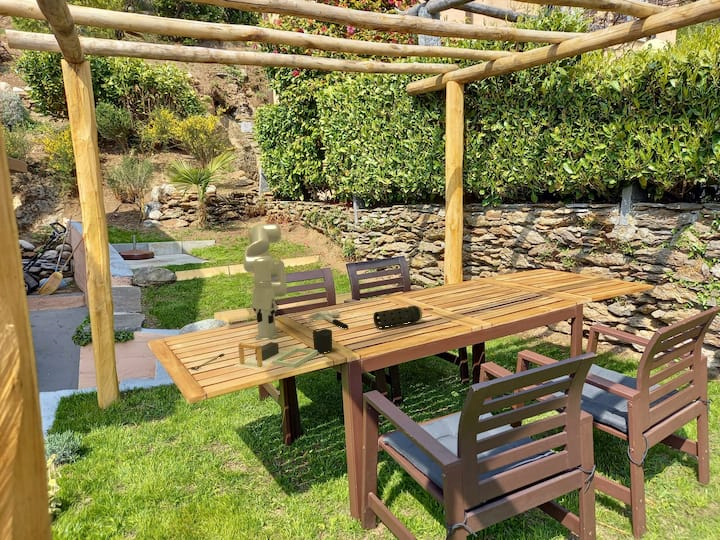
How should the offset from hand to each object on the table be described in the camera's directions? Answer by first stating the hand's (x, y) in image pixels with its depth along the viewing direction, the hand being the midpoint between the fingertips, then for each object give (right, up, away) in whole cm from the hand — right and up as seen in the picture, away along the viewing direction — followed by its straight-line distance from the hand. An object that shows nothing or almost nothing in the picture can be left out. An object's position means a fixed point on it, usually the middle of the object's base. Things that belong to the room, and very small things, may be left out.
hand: (265, 322), depth 221 cm
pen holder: (+26, -16, +10) cm, 32 cm away
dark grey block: (+1, -17, +3) cm, 17 cm away
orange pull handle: (-5, -18, -8) cm, 21 cm away
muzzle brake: (+67, -8, +52) cm, 85 cm away
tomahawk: (-25, -19, -1) cm, 32 cm away
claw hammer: (+27, -8, +60) cm, 66 cm away
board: (-1, -18, 0) cm, 18 cm away
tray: (+15, -18, -2) cm, 23 cm away
